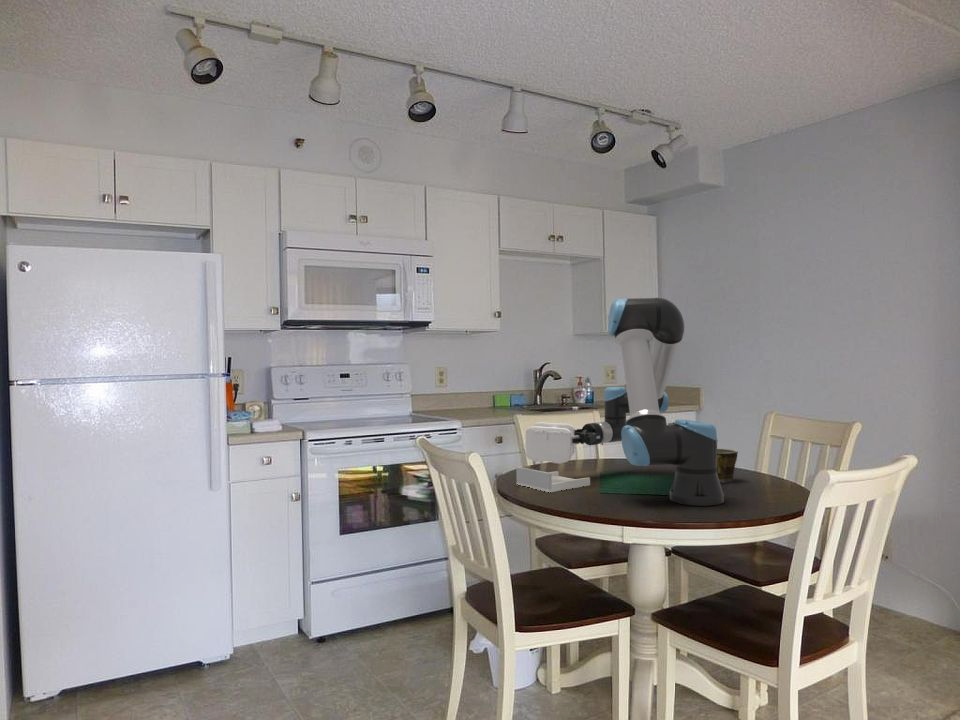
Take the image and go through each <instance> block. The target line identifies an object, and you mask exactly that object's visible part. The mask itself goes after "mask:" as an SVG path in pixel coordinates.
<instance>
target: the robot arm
mask: <svg viewBox="0 0 960 720" xmlns="http://www.w3.org/2000/svg"><path fill="white" fill-rule="evenodd" d="M607 333H608V335H609V336H612V337H614V339H615V343H616V344H617V345H619V346H620V347H621V354H622V362H623V363H622V364H623V369H624V370H623V371H624V372H623V373H624V378H625V385H626V388H625V387H624V386H607V387H606V388H605V389H604V397H603V398H604V399H603V403H604V421H598V422H597V421H596V422H591V423H589V422H588V423H586V424H584V425H583V426H582V428H577V429H575V434H574V436H571V445H574V446H575V445H579V444H581V445H584V444H585V445H587V446H596V445H600V446H604V444H607V443H616V442H617V443H618V442H621V447H622V450H623V451H622V452H623V454H624V456H625V458H626V460H627V462H629V464H631V465H633V466H638V467H639V466H641V467H642V466H643V467H649V466H675V474H674V477H673V480H672V483H671V488H670V489H669V500H670V501H671V502H674V503H676V504H681V505H686V506H696V507H697V506H699V507H700V506H701V507H703V506H707V507H708V506H717V505H721V504H723V503H724V502H725V494H724V492H723V488H722V484H721V482H719V479H718V475H717V449H718V441H719V440H718V438H717V437H718V435H717V428H716V426H715V425H714V424H712V423H708V422H705V421H704V422H702V421H697V420H691V419H690V420H688V419H675V421H674V424H668V423H667V418H666V416H664V415H663V414H662V413H665V412H667V410H668V408H669V396H668V394H667V392H665V390H666V387H667V384H668V380H669V377H670V372H671V369H672V365H673V362H674V358H675V355H676V351H677V347H678V344H679V343H681V342H682V340H683V338H684V335H685V334H684V333H685V320H684V318H683V315H682V312H681V311H680V309H679V308H678V306H677V305H676V304H674V303H673V302H672V301H671V300H668V299H666V298H662V297H647V298H646V297H645V298H644V297H640V298H639V297H638V298H632V297H631V298H628V297H624V298H615V299H613V301H612V303H611V304H610V309H609V313H608V322H607ZM652 340H653V343H652V348H651V346H650V342H651V341H652ZM627 414H629V417H628V418H627Z"/></svg>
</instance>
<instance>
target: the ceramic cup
mask: <svg viewBox="0 0 960 720" xmlns="http://www.w3.org/2000/svg"><path fill="white" fill-rule="evenodd" d="M737 458H738V451H737V450H735V449H728V448H717V475H718V479H719V482H720V484H725V483H726V484H727V483H732V481H733V479H734V473H735V467H736V465H737V464H736V463H737V461H738V459H737Z"/></svg>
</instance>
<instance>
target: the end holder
mask: <svg viewBox="0 0 960 720" xmlns="http://www.w3.org/2000/svg"><path fill="white" fill-rule="evenodd" d="M515 469H516V470H515V471H516V475H515V476H516V485H517V484H518V485H521V486H520V487H522V486H526V487H525V488H527V487H530V488H529V489H531V488H533V489H532V490H535V489H537V490H536V491H540V490H541V491H540V492H544V491H545V492H544V493H548V492H549V493H550V492H551V493H555V492H561V490H562V491H566V489H567V490H571V489H572V488H573V489H577V488H582V487H583V486H584V487H589V486H591V477H589V476H588V477H581V478H576V479H575V478H570V477H566V476H560V475H559V474H560V473H559V471H557V470H556V471H550V472H547V471H542V470H538V469H537V470H536V469H532V468H527V467H522V466H516V468H515ZM518 485H517V486H518Z"/></svg>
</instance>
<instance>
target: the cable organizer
mask: <svg viewBox="0 0 960 720" xmlns="http://www.w3.org/2000/svg"><path fill="white" fill-rule="evenodd" d="M575 430H576V429H575V427H574V425H573V424H570V423H564V422H563V423H562V422H561V423H560V422H559V423H558V422H543V421H539V422H535V423H534V424H533V425H532V426H529V427H527V428H526V429H525V456H526V458H527V459H529V460H531V461H532V462H539V463H542V462H551V464H559V465H560V464H563V463H567V462H569V461H570V460H571V458H572V456H574V455H575V445H571V436H574V434H575Z"/></svg>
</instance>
